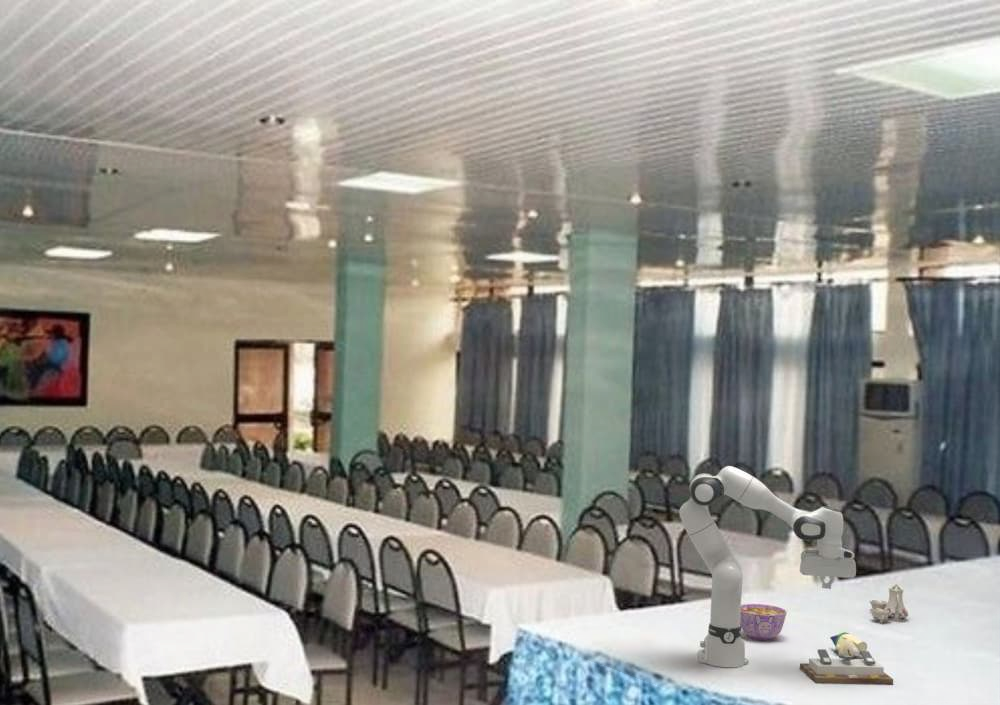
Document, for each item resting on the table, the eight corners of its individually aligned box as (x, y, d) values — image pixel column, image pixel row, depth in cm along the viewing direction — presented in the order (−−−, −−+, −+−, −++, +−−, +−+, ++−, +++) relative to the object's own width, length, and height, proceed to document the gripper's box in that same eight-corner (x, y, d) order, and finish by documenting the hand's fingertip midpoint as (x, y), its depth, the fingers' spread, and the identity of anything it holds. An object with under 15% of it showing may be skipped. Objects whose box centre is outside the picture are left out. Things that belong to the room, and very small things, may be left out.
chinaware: (866, 613, 515) (863, 577, 515) (904, 613, 511) (901, 576, 512) (872, 628, 488) (869, 590, 488) (913, 627, 484) (910, 589, 484)
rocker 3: (860, 653, 410) (860, 650, 410) (868, 653, 410) (868, 651, 410) (866, 664, 404) (867, 661, 403) (874, 664, 404) (875, 661, 403)
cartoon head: (860, 669, 426) (824, 653, 445) (877, 654, 430) (841, 639, 448) (852, 651, 424) (816, 635, 442) (869, 636, 427) (833, 622, 446)
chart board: (799, 668, 415) (799, 662, 415) (873, 669, 416) (873, 664, 416) (815, 683, 397) (816, 677, 397) (893, 684, 398) (893, 678, 398)
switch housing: (808, 666, 411) (809, 655, 411) (872, 667, 412) (873, 656, 412) (817, 674, 401) (818, 663, 401) (883, 675, 402) (883, 664, 402)
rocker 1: (817, 651, 409) (817, 649, 409) (825, 651, 410) (825, 649, 409) (823, 664, 403) (823, 661, 403) (831, 664, 403) (831, 662, 403)
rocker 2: (838, 657, 410) (838, 654, 410) (846, 657, 410) (846, 654, 410) (845, 659, 403) (845, 656, 403) (853, 659, 403) (853, 656, 403)
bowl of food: (766, 646, 445) (767, 617, 444) (725, 635, 460) (726, 607, 460) (795, 639, 458) (796, 611, 458) (755, 628, 473) (756, 601, 473)
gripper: (804, 551, 408) (801, 588, 409) (858, 554, 409) (856, 591, 410) (798, 547, 415) (796, 584, 415) (852, 550, 416) (850, 587, 416)
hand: (826, 588), depth 412 cm, fingers closed
